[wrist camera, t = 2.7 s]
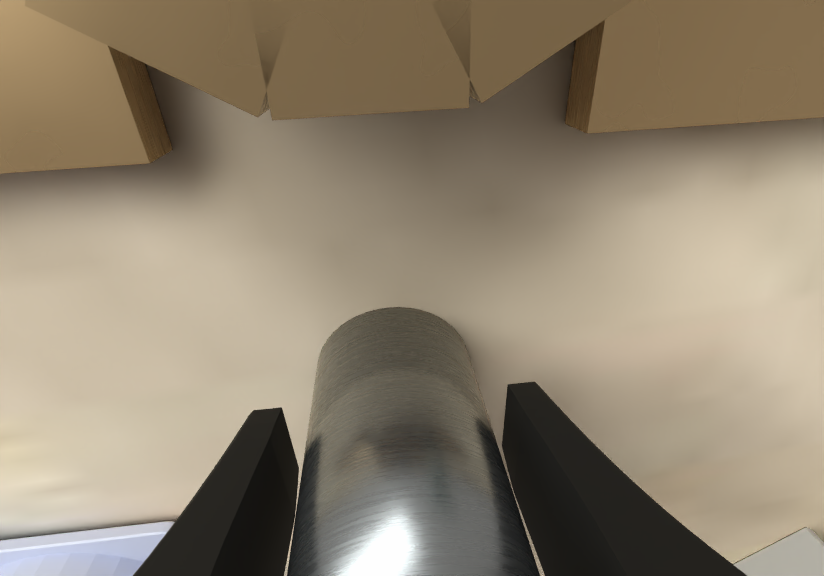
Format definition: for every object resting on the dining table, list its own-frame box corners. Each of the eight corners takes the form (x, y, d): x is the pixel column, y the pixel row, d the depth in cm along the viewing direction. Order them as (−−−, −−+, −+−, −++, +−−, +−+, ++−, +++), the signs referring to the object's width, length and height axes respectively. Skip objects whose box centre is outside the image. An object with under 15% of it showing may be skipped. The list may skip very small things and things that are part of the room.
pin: (486, 427, 13) (617, 853, 6) (311, 446, 13) (251, 915, 6) (494, 276, 10) (745, 737, 4) (274, 296, 10) (83, 841, 3)
